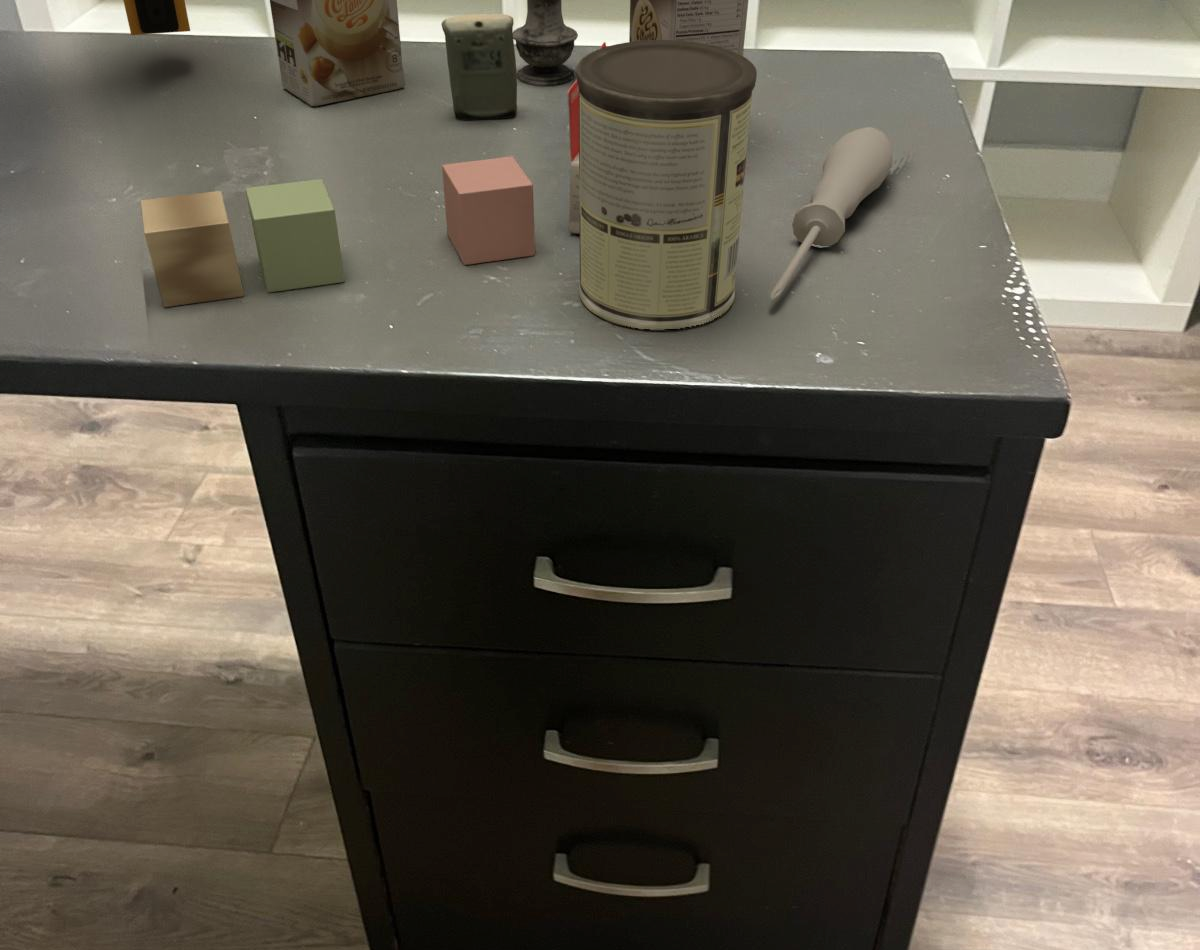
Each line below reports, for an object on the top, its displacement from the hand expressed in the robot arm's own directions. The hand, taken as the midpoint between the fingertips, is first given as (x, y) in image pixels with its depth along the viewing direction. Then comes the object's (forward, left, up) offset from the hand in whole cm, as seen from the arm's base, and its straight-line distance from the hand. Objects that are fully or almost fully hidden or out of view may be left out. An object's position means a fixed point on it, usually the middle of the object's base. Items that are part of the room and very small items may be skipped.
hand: (158, 20), depth 105 cm
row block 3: (+19, -44, -4) cm, 48 cm away
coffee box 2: (+38, -30, -4) cm, 49 cm away
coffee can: (+27, -54, -4) cm, 60 cm away
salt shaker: (+32, -12, -4) cm, 35 cm away
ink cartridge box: (+28, -40, -4) cm, 49 cm away
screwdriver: (+42, -49, -4) cm, 65 cm away
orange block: (0, 0, 0) cm, 0 cm away
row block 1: (-1, -44, -4) cm, 44 cm away
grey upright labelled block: (+24, -20, -4) cm, 32 cm away
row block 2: (+6, -44, -4) cm, 44 cm away
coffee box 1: (+14, -10, -4) cm, 18 cm away
